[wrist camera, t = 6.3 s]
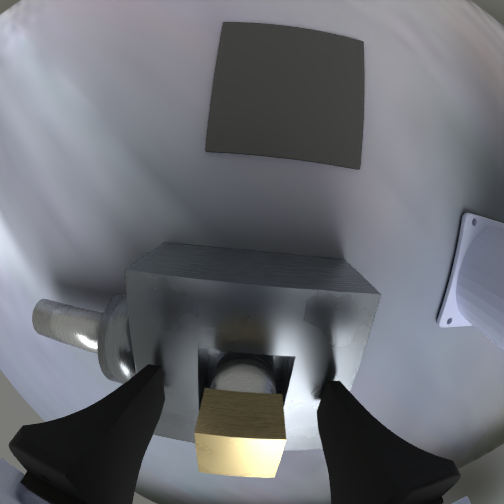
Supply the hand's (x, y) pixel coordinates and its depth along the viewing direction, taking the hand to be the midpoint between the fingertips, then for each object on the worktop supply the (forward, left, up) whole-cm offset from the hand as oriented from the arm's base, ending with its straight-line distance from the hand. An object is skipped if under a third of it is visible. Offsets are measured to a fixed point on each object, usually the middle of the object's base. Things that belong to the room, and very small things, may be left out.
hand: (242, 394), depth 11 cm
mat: (-1, -14, -5) cm, 15 cm away
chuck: (+4, 0, -5) cm, 7 cm away
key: (0, 0, -3) cm, 3 cm away
